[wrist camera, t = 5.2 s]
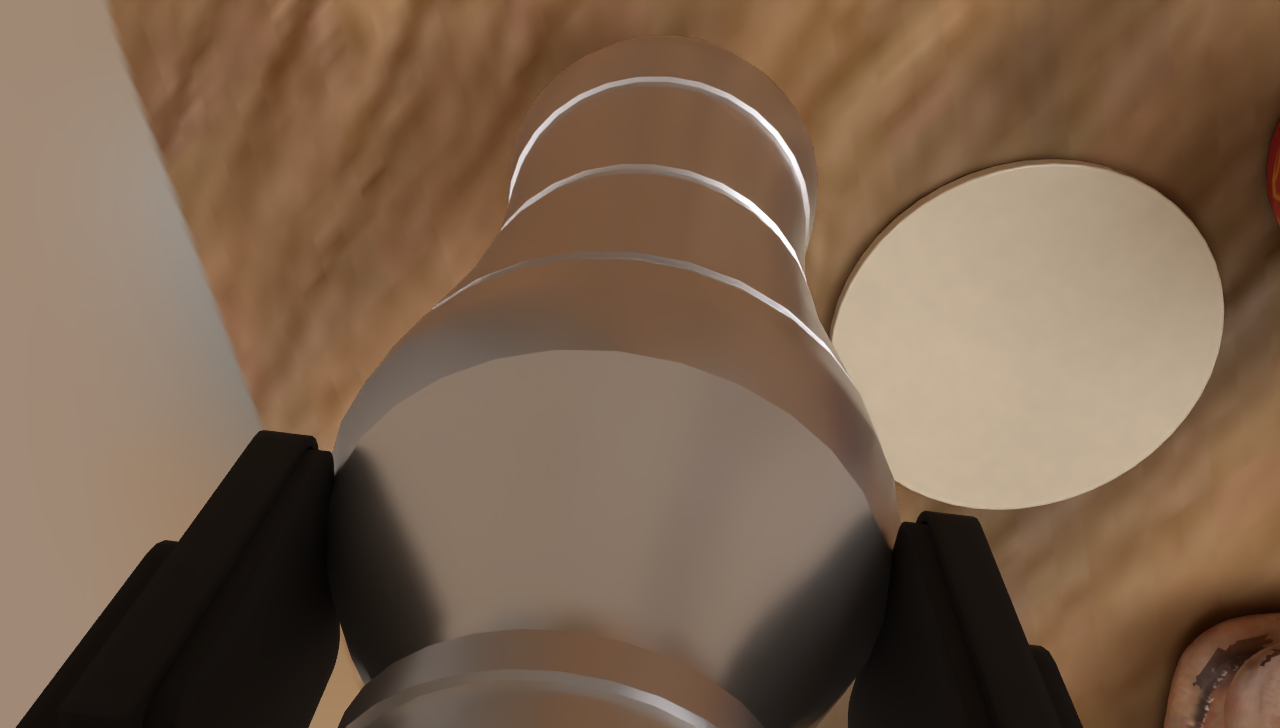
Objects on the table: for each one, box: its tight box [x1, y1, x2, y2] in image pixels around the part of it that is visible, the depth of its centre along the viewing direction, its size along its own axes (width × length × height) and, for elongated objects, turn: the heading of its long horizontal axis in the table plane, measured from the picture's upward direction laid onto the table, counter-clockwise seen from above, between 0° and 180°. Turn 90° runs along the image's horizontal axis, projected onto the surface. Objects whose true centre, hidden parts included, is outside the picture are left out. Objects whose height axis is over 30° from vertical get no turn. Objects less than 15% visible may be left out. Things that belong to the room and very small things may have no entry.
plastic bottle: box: [327, 35, 901, 728], centre depth 16 cm, size 6×7×20 cm
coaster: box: [829, 159, 1224, 510], centre depth 30 cm, size 11×11×1 cm
